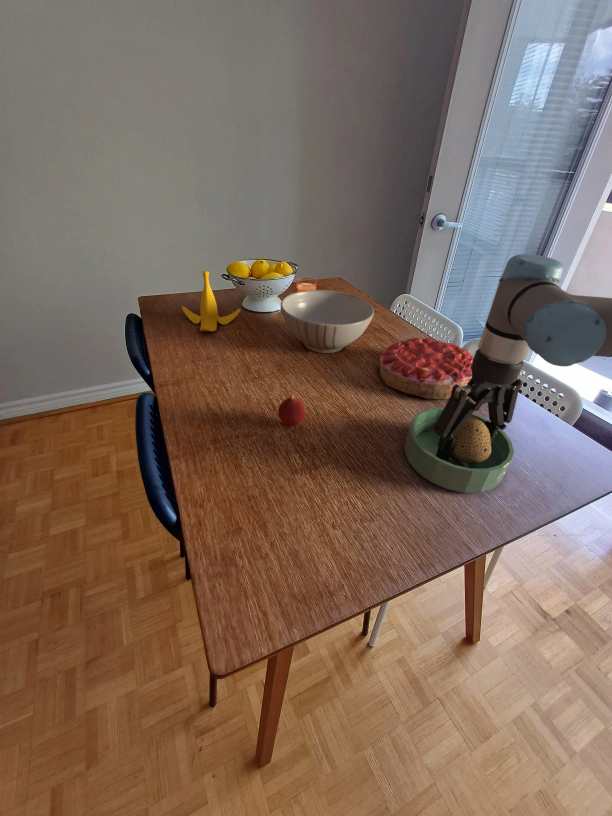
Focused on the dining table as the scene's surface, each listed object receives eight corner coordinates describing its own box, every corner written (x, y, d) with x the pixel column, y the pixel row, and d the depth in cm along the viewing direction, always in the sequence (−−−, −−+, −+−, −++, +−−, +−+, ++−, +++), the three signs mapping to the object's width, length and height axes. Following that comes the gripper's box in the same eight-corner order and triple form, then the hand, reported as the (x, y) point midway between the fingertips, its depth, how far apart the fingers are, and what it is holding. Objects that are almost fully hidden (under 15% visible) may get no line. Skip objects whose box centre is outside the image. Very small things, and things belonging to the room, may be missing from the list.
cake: (495, 386, 104) (503, 358, 100) (425, 414, 94) (431, 385, 89) (426, 351, 122) (431, 326, 118) (361, 371, 112) (363, 345, 107)
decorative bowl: (307, 373, 106) (310, 331, 99) (265, 333, 124) (265, 295, 117) (385, 355, 117) (393, 316, 110) (336, 320, 136) (340, 285, 129)
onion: (308, 430, 86) (311, 399, 82) (284, 436, 84) (285, 405, 80) (297, 415, 91) (299, 385, 86) (274, 421, 88) (274, 390, 84)
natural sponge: (492, 467, 79) (510, 427, 73) (463, 483, 75) (479, 442, 69) (456, 441, 85) (470, 402, 79) (427, 454, 81) (439, 415, 75)
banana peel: (183, 315, 132) (177, 264, 122) (241, 317, 133) (239, 266, 123) (172, 337, 118) (164, 281, 108) (237, 339, 120) (234, 284, 110)
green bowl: (524, 480, 78) (536, 458, 74) (442, 505, 71) (451, 482, 68) (459, 422, 92) (466, 400, 89) (386, 438, 86) (391, 416, 82)
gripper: (531, 337, 72) (490, 433, 85) (432, 351, 65) (404, 454, 78) (566, 356, 67) (517, 456, 80) (462, 374, 59) (427, 481, 72)
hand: (461, 455), depth 79 cm, fingers closed on natural sponge, 9 cm apart
